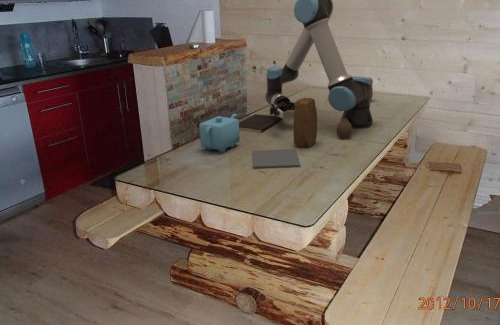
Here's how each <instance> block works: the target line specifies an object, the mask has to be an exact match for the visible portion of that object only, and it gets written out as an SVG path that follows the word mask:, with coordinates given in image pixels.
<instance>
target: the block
mask: <svg viewBox="0 0 500 325" xmlns="http://www.w3.org/2000/svg"><path fill="white" fill-rule="evenodd" d="M294 103H295V104H294V105H295V109H294V110H293V119H292V120H293V121H292V122H293V126H292V127H293V128H292V129H293V132H292V133H293V143H294V145H295V146H296V147H301V148H308V147H312V146H313V145H314V144H315V142H316V140H317V136H318V111H317V107H316V99H315V98H312V97H302V98H300V99H297V100H296V101H295V102H294Z"/></svg>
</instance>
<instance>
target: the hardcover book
mask: <svg viewBox="0 0 500 325" xmlns="http://www.w3.org/2000/svg"><path fill="white" fill-rule="evenodd" d="M280 121H281V122H282V121H283V118H281V117H280V116H278V115H277V116H274V115H266V114H257V113H254V114H252V115H251V116H248V117H247V118H245V119H244V120H241V121H240V122H239V131H245V132H253V133H259V132H260V133H259V134H262V133H264V132H266V131H267V130H269V129H271V128H273V127H274V126H275V124H276V125H277V124H279V123H281V122H280Z"/></svg>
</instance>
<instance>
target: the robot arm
mask: <svg viewBox="0 0 500 325" xmlns="http://www.w3.org/2000/svg"><path fill="white" fill-rule="evenodd" d="M333 9H334V4H333V0H296V2H295V3H294V6H293V14H294V17H295V19H296V20H297V21H298V22H299V23H301V24H302V25H303V29H302V31H301V34H299V37H298V39H297V41H296V42H295V45H294V46H293V48H292V49H291V50H292V51H291V53H290V54H289V56H288V58H287V60H286V62H285V64H284V66H283V68H282V67H281V66H269V67H267V69H266V89H267V90H266V92H265V95H264V98H265V101H266V102H267V103H268V105H270V106H271V107H270V109H269V115H270V116H277V117H281V118H282V119H284V117H285V115H284V113H285V112H287V111H294V109H295V105H294V104H295V102H294V101H293V102H292V100H290V98H289V97H287V96H286V95H284V94H283V85H284V84H287V83H291V82H293V81H294V80H296V79H298V77H299V75H300V74H299V70H300V69H301V66H302V64H303V63H304V61H305V59H306V57H307V56H308V54H309V52H310V50H311V48H312V46H313V44H314V47H315V48H316V52H317V54H318V57H319V59H320V62H321V65H322V66H323V67H322V68H324V71H325V74H326V77H327V79H328V84H327V88H328V91H329V92H328V96H327V100H328V103H329V105H330V106H331V107H332V108H333V110H335V111H338V112H343V113H342V116H341V117H340V121H341V120H342V118H347V119H348V121H349V122H350V124H351V126H352V129H364V128H369V127H371V126H373V122H374V120H373V119H374V118H373V117H372V111H371V107H370V106H371V100H370V96H371V86H372V87H373V84H372V85H371V79H370V78H371V77H366V76H365V77H364V76H356V75H355V76H352V75H351V74H348V72H347V70H346V67H345V65H344V62H343V60H342V57H341V54H340V52H339V49H338V47H337V44H336V41H335V38H334V37H333V36H334V35H333V33H332V31H331V28H330V26H329V21H330V18H331V16H332V15H333Z"/></svg>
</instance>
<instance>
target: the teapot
mask: <svg viewBox="0 0 500 325" xmlns="http://www.w3.org/2000/svg"><path fill="white" fill-rule="evenodd" d="M236 116H237V113H233V114H232V115H231V116H230V117H224V116H221V115H219V116H215V117H213V118H211V119H208V120H206V121H204V122H200V123H199V124H198V125H199V137H200V146H201V147H202V148H206V150H208V151H211V150H218V153H225V152H226V149H228V148H232V149H233V148H235V144H238V143H239V142H240V130H239V119H238V118H236Z"/></svg>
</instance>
